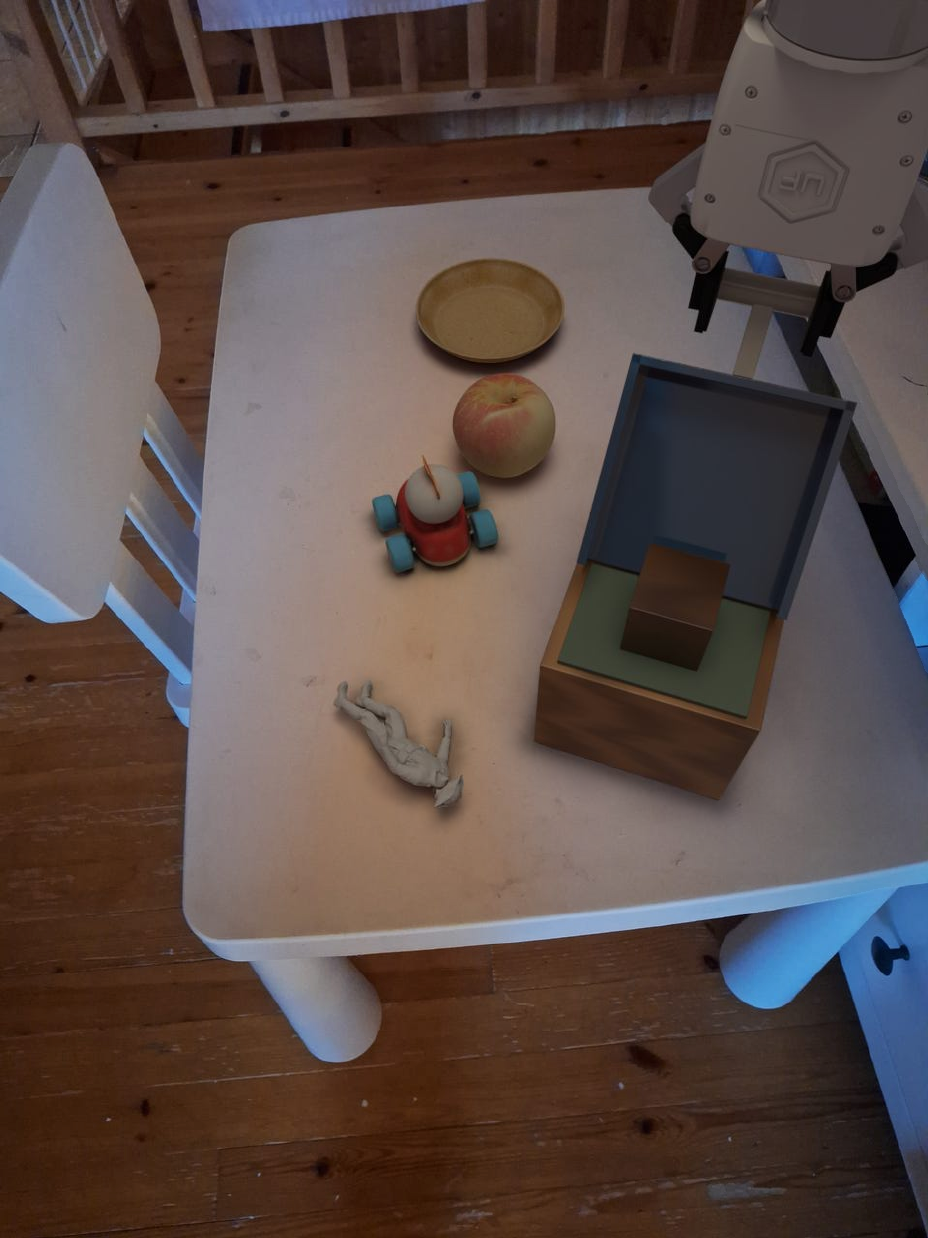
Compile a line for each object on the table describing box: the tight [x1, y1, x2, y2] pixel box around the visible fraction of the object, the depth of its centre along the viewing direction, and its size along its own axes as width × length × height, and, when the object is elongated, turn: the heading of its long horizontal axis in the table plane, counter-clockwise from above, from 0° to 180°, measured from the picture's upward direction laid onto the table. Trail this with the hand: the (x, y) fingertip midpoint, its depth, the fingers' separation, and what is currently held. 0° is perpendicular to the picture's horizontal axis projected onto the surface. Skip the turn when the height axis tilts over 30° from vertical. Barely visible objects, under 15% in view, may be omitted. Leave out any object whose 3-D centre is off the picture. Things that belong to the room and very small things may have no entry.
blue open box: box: [576, 267, 858, 621], centre depth 56 cm, size 13×19×5 cm
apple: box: [452, 372, 557, 479], centre depth 79 cm, size 9×9×8 cm
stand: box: [533, 560, 785, 801], centre depth 67 cm, size 14×23×12 cm, turn 160°
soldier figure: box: [333, 679, 465, 809], centre depth 66 cm, size 8×5×12 cm
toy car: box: [371, 454, 499, 573], centre depth 74 cm, size 9×9×10 cm
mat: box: [557, 563, 770, 719], centre depth 58 cm, size 12×8×1 cm, turn 70°
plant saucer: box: [415, 257, 565, 364], centre depth 90 cm, size 15×15×3 cm
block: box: [620, 543, 730, 671], centre depth 56 cm, size 5×5×5 cm
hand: (756, 326), depth 54 cm, fingers closed on blue open box, 5 cm apart
